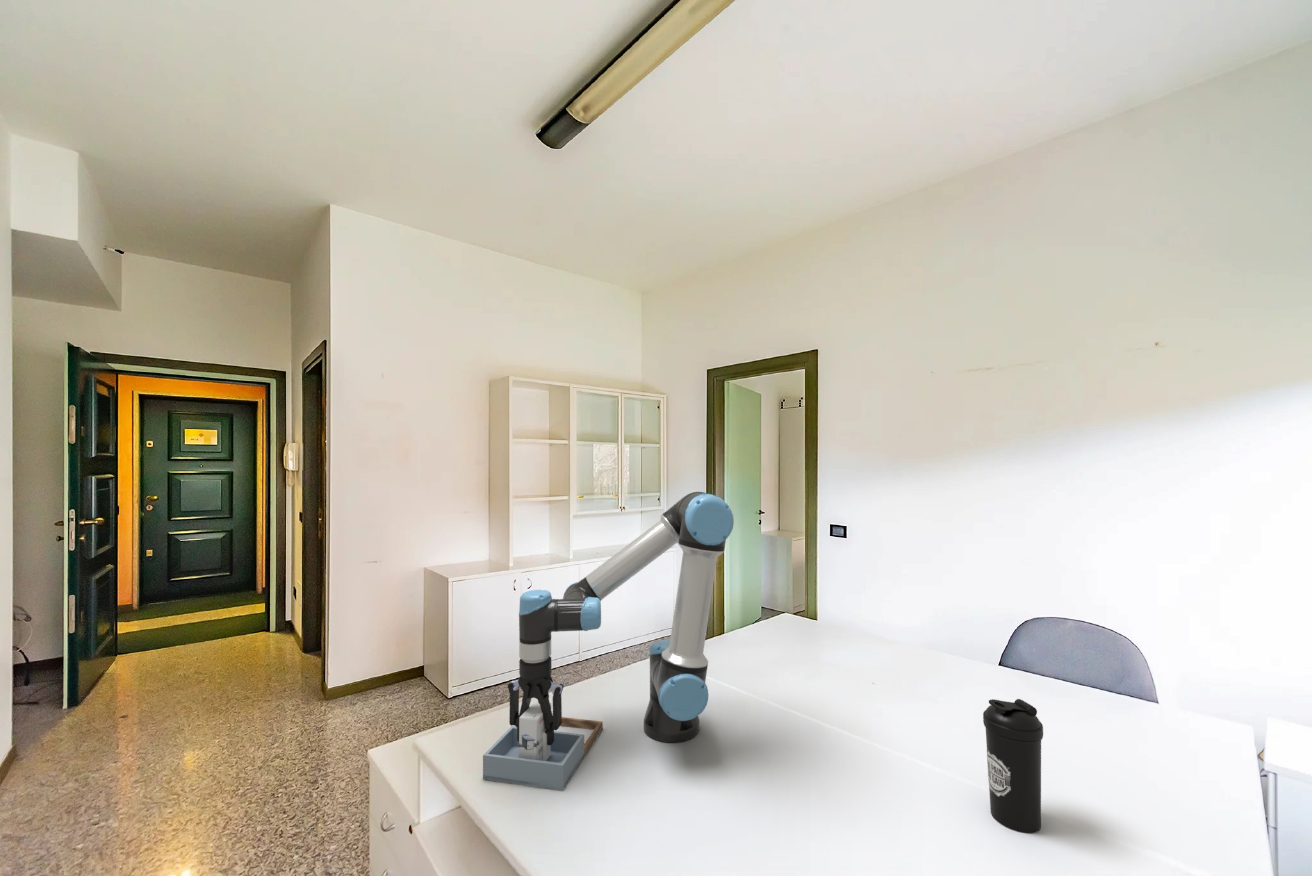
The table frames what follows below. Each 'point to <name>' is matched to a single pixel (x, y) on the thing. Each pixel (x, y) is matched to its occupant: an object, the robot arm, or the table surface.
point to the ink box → (531, 733)
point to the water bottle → (1014, 764)
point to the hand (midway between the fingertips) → (535, 756)
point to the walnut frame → (587, 725)
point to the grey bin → (534, 761)
